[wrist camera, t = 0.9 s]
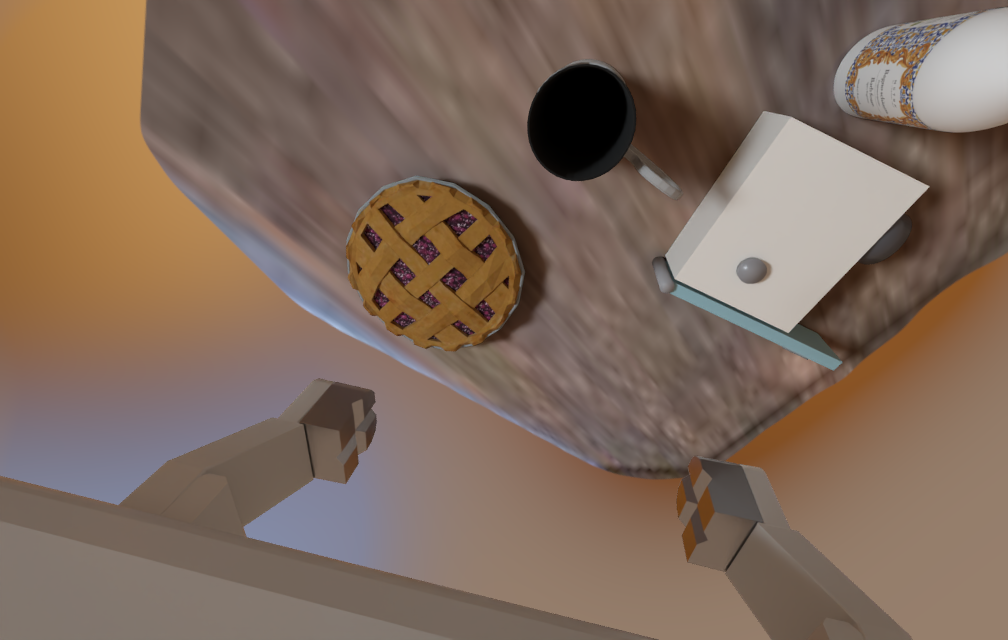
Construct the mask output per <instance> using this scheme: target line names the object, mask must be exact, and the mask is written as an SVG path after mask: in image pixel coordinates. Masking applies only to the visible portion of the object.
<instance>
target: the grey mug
mask: <svg viewBox="0 0 1008 640" xmlns="http://www.w3.org/2000/svg"><path fill="white" fill-rule="evenodd" d="M527 126H528V138H529V143H530V146H531V148H532V151H533V153H534V155H535V157H536V158H537V160H538V161H539V162H540V164H541V165H542V166H543V167H544V168H545V169H546V170H548V171H549V172H550V173H552V174H554V175H555V176H557V177H560V178H562V179H565V180H571V181H585V180H590V179H594V178H596V177H599V176H601V175H603V174H605V173H607V172H608V171H610V170H611V169H612V168H613V167H615V166H616V165H617V164H618V163H619V161H620V160H621V159H622V158H623V157H625V158H626V159H627V160H629V161H630V162H631V163H632V164H633V165H634V167H635V168H636V170H637V171H638V172H639V173H640V174H641V175H642V176H643V177H644V178H645V179H646V180H648V181H649V182H650V183H651V184H652V185H654V186H655V187H656V188H658V189H659V190H660V191H662V192H663V193H664V194H666V195H667V196H669V197H671V198H672V199H674V200H678V199H679V198H680V197H681V196H682V195H683V192H682V190H681V189H680V188H679V186H678V185H677V184H676V183H675V182H674V181H673V180H672V179H671V178H670V177H669V176H668V175H667V174H665V173H664V172H663V171H662V170H661V169H660V168H659V167H658V166H656V165H655V164H654V163H653V162H652V161H651V160H649V159H648V158H647V157H646V156H645V155H644V154H642V153H641V152H640V151H639V150H638V149H636V148H635V147H634V146H633V145H632V144H631V142H632V140H633V136H634V132H635V127H636V109H635V105H634V100H633V97H632V95H631V93H630V91H629V89H628V87H627V86H626V83H625V81H624V79H623V78H622V76H621V75H620V74H619V72H617V71H616V70H615V69H614V68H613V67H612V66H610V65H609V64H607V63H605V62H602V61H599V60H593V59H585V60H579V61H575V62H573V63H571V64H569V65H567V66H565V67H564V68H561V69H560V70H558V71H557V72H555V73H554V74H552V75H551V76H550V77H549V78H548V79H547V80H546V81H545V82H544V83H543V84H542V86H541V87H540V88H539V90H538V91H537V93H536V95H535V97H534V99H533V101H532V104H531V107H530V111H529V115H528V122H527Z"/></svg>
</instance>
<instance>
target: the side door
mask: <svg viewBox="0 0 1008 640" xmlns="http://www.w3.org/2000/svg"><path fill="white" fill-rule="evenodd" d="M652 264H653V268H654V271H655V274H656V277H657V281H658V284H659V287H660V290H661V291H662V292H663V293H671V294H673V295H675V296H677V297H679V298H681V299H683V300H685V301H688V302H690V303H692V304H694V305H696V306H698V307H700V308H702V309H704V310H707V311H709V312H711V313H713V314H715V315H717V316H719V317H721V318H723V319H726V320H728V321H730V322H732V323H734V324H736V325H738V326H740V327H742V328H745V329H747V330H749V331H751V332H753V333H755V334H757V335H759V336H762V337H764V338H766V339H768V340H770V341H772V342H774V343H776V344H778V345H781V346H782V347H783V348H784V349H786V350H788V351H790V352H792V353H794V354H796V355H799V356H801V357H803V358H805V359H807V360H808V359H810V360H812V361H814V362H817V363H819V364H821V365H823V366H825V367H827V368H829V369H831V370H835V369H836V368H837V367H838V366H839V365H840V364H841V363H842V361H841V360H840V359H839V358H838V356H837V355H836V354H835V353H834V352H833V351H832V350H831V348H830V347H829V346H828V345H827V344H826V343H825V341H824V340H823V339H822V338H821V337H820V336H819V334H818V333H816V332H814V331H812V330H810V329H807V328H805V327H803V326H801V325H799V324H797V325H796V326H795V327H794V328H793V329H792V330H791V331H790V332H789V333H787V332H785V331H783V330H781V329H779V328H777V327H775V326H773V325H771V324H768V323H766V322H764V321H762V320H760V319H758V318H756V317H754V316H752V315H749V314H747V313H745V312H743V311H741V310H739V309H737V308H735V307H733V306H731V305H728V304H726V303H724V302H722V301H720V300H718V299H716V298H714V297H712V296H709V295H707V294H705V293H703V292H701V291H699V290H697V289H695V288H693V287H690V286H688V285H686V284H684V283H682V282H680V281H678V280H676V279H674V276H673V274H672V271H671V269H670V266H669V264H668V262H667V261H665V259H664V258H663V257H656V258H654V260H653V262H652Z"/></svg>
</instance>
